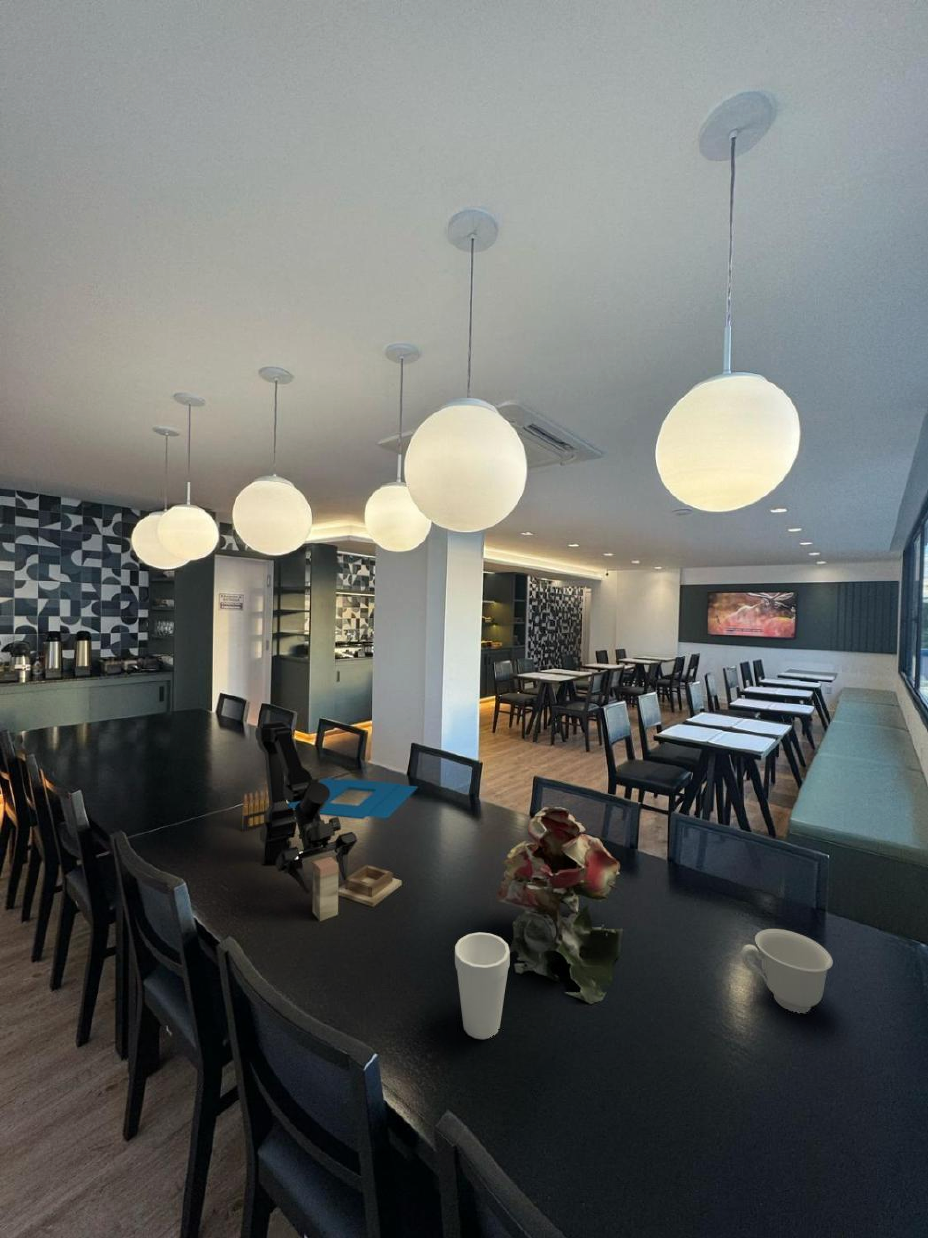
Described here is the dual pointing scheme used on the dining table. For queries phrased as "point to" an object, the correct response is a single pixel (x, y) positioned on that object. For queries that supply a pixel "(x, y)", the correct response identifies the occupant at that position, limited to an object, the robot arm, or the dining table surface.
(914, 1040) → the dining table surface
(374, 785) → the frame
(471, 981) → the foam cup
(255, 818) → the ammunition clip
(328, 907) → the birch post
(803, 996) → the teacup
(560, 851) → the rose bouquet
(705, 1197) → the dining table surface
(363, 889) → the socket stand
